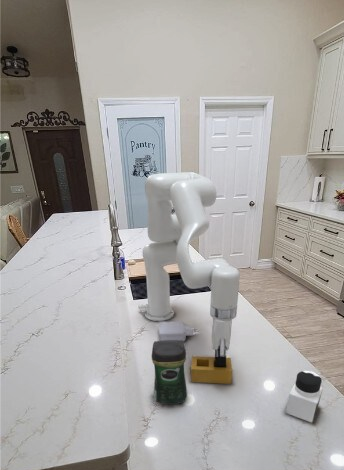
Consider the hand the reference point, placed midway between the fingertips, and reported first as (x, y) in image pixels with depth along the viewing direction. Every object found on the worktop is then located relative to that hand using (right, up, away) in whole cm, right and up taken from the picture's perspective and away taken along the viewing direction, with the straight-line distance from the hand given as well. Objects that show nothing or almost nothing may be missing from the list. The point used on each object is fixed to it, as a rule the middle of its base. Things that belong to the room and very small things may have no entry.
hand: (220, 362), depth 102 cm
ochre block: (-3, -5, +3) cm, 6 cm away
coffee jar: (-15, -10, -5) cm, 19 cm away
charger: (-12, +6, +25) cm, 28 cm away
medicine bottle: (+21, -12, -11) cm, 27 cm away
